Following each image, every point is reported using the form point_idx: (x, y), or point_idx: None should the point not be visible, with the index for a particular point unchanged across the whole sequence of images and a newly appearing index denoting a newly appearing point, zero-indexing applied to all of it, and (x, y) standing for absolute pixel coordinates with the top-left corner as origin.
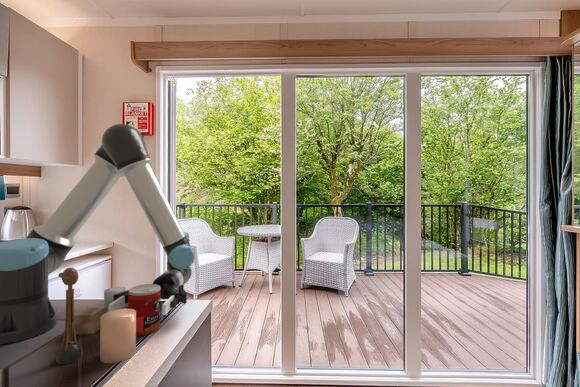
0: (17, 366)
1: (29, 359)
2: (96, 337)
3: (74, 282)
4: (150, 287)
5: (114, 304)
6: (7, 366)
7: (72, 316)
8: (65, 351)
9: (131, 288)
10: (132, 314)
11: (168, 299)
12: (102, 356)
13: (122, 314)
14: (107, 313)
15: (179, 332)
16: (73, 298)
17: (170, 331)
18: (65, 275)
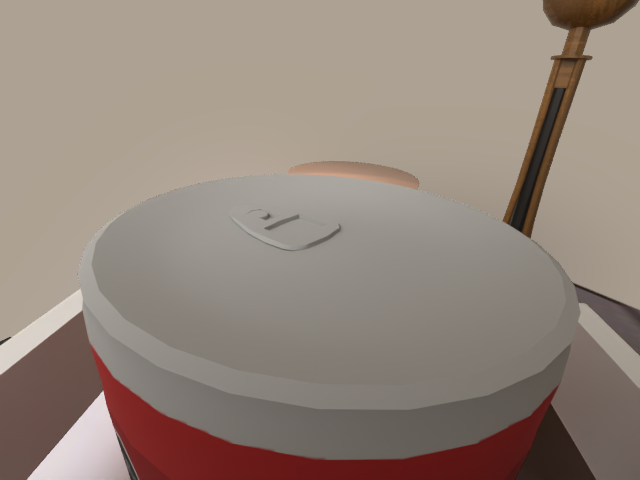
0: (601, 305)
1: (621, 328)
2: (561, 455)
3: (544, 11)
4: (256, 295)
5: (581, 345)
6: (633, 309)
7: (520, 177)
8: None
9: (521, 246)
10: (296, 170)
11: (53, 324)
12: None
13: (337, 174)
14: (408, 183)
15: (71, 433)
16: (543, 99)
17: (120, 458)
18: None
